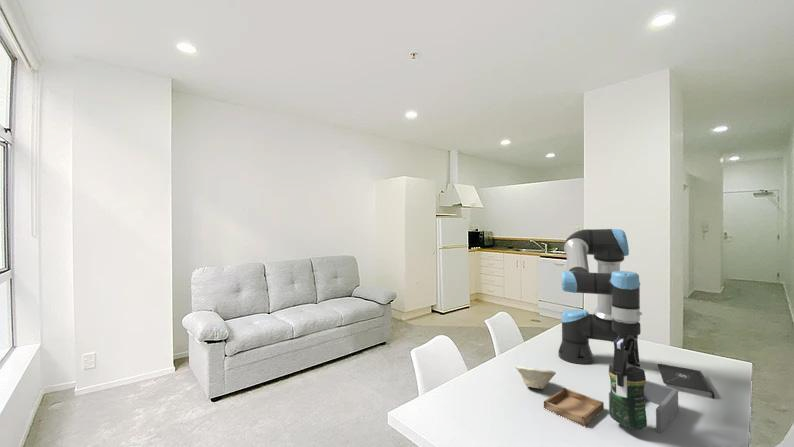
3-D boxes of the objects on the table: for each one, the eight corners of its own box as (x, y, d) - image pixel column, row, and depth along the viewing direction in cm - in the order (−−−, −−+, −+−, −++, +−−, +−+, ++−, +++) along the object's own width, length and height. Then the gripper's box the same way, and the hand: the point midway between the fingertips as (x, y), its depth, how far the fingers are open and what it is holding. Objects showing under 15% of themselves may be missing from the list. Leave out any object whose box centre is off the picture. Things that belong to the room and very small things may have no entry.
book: (714, 400, 123) (714, 392, 123) (663, 390, 131) (663, 382, 131) (701, 377, 141) (701, 370, 141) (657, 370, 149) (657, 363, 149)
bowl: (555, 383, 136) (555, 359, 136) (556, 399, 124) (555, 372, 124) (517, 376, 143) (517, 353, 143) (514, 391, 130) (513, 366, 130)
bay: (609, 413, 114) (608, 392, 114) (630, 393, 127) (630, 375, 127) (661, 433, 103) (660, 410, 103) (678, 409, 116) (678, 389, 116)
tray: (543, 409, 117) (543, 401, 117) (564, 394, 127) (564, 387, 127) (584, 426, 106) (584, 418, 106) (603, 410, 116) (603, 402, 116)
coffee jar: (652, 429, 101) (651, 368, 102) (632, 433, 100) (630, 371, 100) (623, 411, 111) (622, 356, 111) (604, 415, 109) (603, 359, 109)
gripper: (627, 329, 96) (629, 407, 96) (650, 316, 109) (651, 384, 109) (599, 324, 102) (600, 397, 102) (624, 312, 115) (625, 376, 115)
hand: (627, 390), depth 105 cm, fingers closed on coffee jar, 9 cm apart
